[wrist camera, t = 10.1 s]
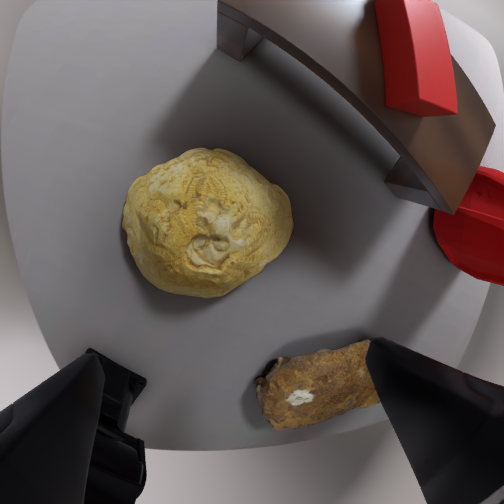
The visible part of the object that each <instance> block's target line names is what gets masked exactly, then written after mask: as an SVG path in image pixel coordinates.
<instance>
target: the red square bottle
mask: <svg viewBox="0 0 504 504" xmlns="http://www.w3.org/2000/svg"><path fill="white" fill-rule="evenodd" d="M374 6H375V11H376V16H377V22H378V28H379V34H380V41H381V49H382V58H383V67H384V79H385V95H386V106H388V107H391V108H395V109H398V110H402V111H405V112H409V113H412V114H415V115H418V116H422V117H432V116H443V115H457V114H458V109H457V97H456V87H455V79H454V72H453V66H452V60H451V54H450V49H449V44H448V40H447V36H446V31H445V27H444V24H443V20H442V16H441V13H440V10H439V6H438V5H437V4H436V3H435V2H433V1H431V0H377V1H375V2H374Z"/></svg>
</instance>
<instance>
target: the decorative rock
mask: <svg viewBox="0 0 504 504" xmlns="http://www.w3.org/2000/svg"><path fill="white" fill-rule="evenodd" d="M369 343H370V341H369V340H368V339H365V340H364V341H362V342H356V343H353V344H350V345H347V346H344V347H342V348H339V349H337V350H330V349H319V350H317V351H314V352H312V353H310V354H306V355H301V356H294V357H292V358H288V357H285V358H281V357H278V360H277V362H276V364H275V365H274V366H273V367H272V368H271V370H270V372H268V373H267V375H266V378H262V377H259V378H258V379H256V380H255V387H256V395H257V399H258V401H259V403H260V405H261V407H262V417H263V418H264V419H265V420H266V421H268V422H270V424H271V425H272V427H273V428H274V430H275V431H279V430H281V429H284V428H287V427H288V428H294V429H296V428H300V427H304V426H306V425H307V426H308V425H313V424H316V423H319V422H322V421H326V420H328V419H330V418H332V417H334V416H337V415H340V414H343V413H345V412H346V411H348V410H350V409H353V408H356V407H358V406H361V407H368V406H371V405H373V404H376V403H378V402H379V401H380V399H379V397H378V395H377V392H376V390H375V387H374V384H373V381H372V379H371V376H370V373H369V371H368V368H367V366H366V362H365V357H366V354H367V350H368V347H369Z"/></svg>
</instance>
